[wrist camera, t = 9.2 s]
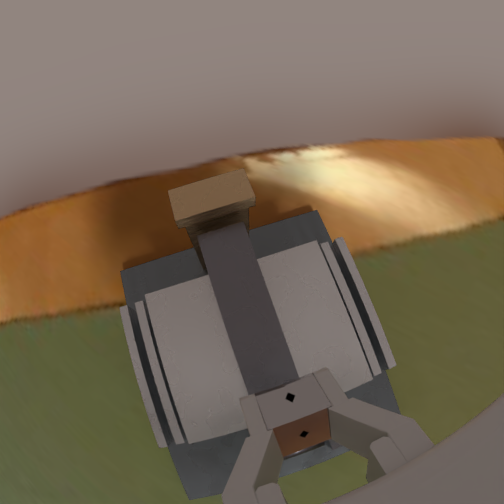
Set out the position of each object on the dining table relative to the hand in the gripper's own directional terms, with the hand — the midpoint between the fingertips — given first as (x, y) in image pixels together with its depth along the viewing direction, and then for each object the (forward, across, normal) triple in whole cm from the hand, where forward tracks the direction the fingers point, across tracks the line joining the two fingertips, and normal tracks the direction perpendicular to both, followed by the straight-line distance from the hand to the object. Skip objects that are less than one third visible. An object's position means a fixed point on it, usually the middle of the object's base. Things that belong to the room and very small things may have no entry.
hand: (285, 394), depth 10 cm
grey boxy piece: (+12, 0, +9) cm, 15 cm away
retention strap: (+8, 0, +4) cm, 9 cm away
